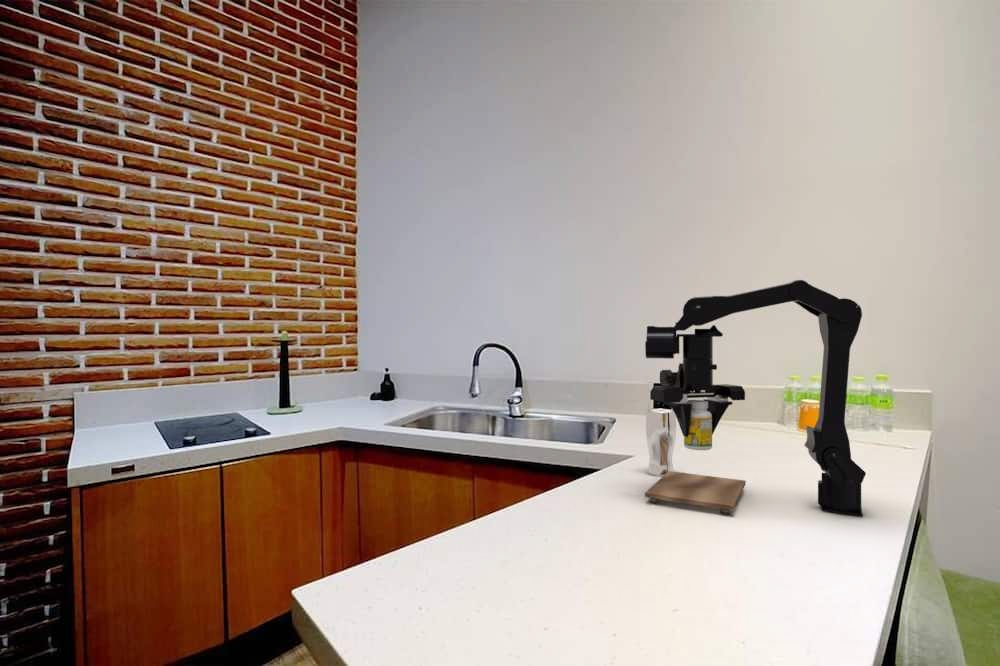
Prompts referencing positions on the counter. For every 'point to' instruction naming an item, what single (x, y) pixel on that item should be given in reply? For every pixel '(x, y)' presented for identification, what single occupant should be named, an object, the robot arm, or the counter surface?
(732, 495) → the peg shelf
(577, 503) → the counter surface
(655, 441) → the beer glass
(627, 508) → the counter surface
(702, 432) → the supplement bottle
